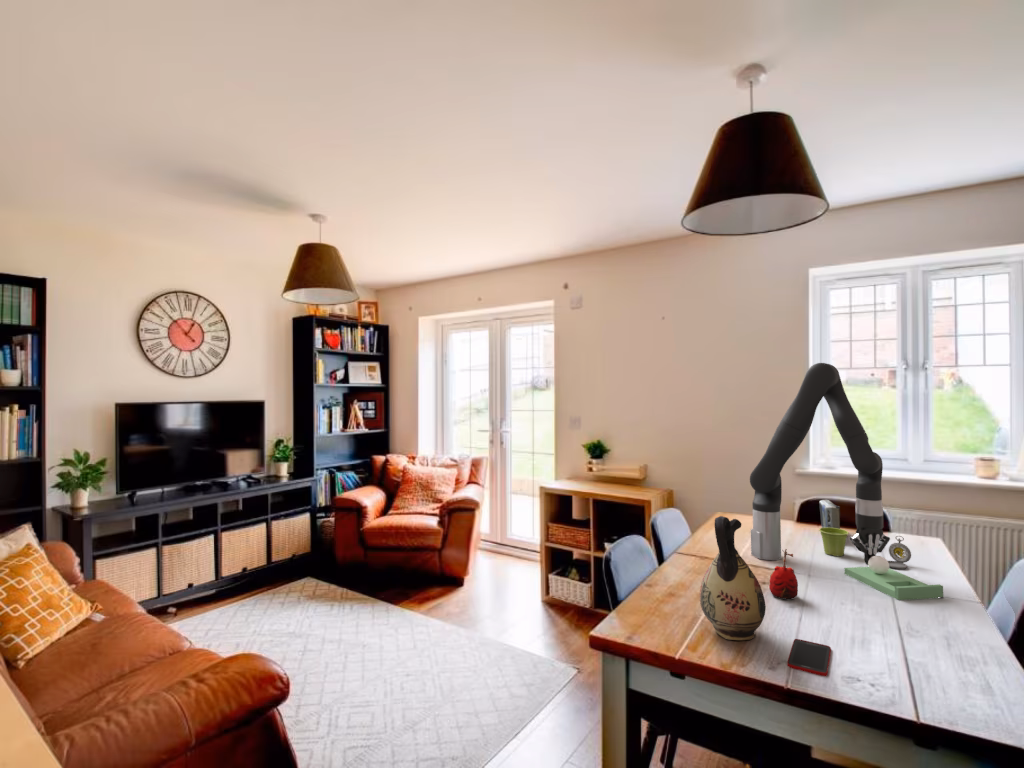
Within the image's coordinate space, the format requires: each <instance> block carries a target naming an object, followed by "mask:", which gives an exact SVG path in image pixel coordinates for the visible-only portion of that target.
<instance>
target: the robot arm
mask: <svg viewBox="0 0 1024 768" xmlns="http://www.w3.org/2000/svg"><path fill="white" fill-rule="evenodd" d="M843 385H844V384H843V383H842V379H841V377H840V372H839V370H838V369H837V368H836V367H835V366H834V365H833V364H830V363H827V362H817V363H815V364H812V365H811V366H810V367H809V368H808V369H807V371H806V372H805V375H804V378H803V380H802V383H801V385H800V387H799V389H798V393H797V395H795V398H794V399H793V401H792V403H790V406H789V407H788V409H787V410H786V412H785V413H784V415H783V417H782V418H781V420H780V422H779V424H778V425H777V427H776V429H775V431H774V433H773V436H772V438H771V440H770V442H769V444H768V446H767V449H766V451H765V453H764V455H763V456H762V458H761V459H760V461H759V462H758V463H757V465H756V466H755V467H754V469H753V470H752V471H751V473H750V476H749V483H750V486H751V488H752V489H753V490H754V495H753V500H752V528H751V529H750V552H751V555H752V556H754V557H755V558H757V559H759V560H767V561H779V560H781V559H782V536H781V535H782V533H781V532H782V531H781V529H782V526H781V525H782V523H781V504H782V488H783V487H782V476H781V473H782V470H783V468H784V467H785V464H786V463H787V462H788V460H789V459H790V458H791V457H792V456H793V454H794V453H795V452H796V451H797V450H798V448H799V447H800V445H802V443H803V441H804V440H805V438H806V437H807V434H808V432H809V431H810V430H811V426H812V424H813V421H814V419H815V415H816V411H817V408H818V406H819V404H820V402H821V400H822V399H823V398H824V399H825V401H826V403H827V405H828V407H829V410H830V412H831V415H832V419H833V422H834V424H835V427H836V429H837V431H838V433H839V435H840V437H841V439H842V441H843V443H844V444H845V446H846V449H847V452H848V454H849V458H850V460H851V462H852V465H853V467H854V468H855V469H856V471H857V482H856V486H855V503H854V505H855V509H854V510H855V525H856V531H855V534H854V535H853V536H852V535H850V536H849V540H850V542H851V543H852V545H854V546H855V548H856V549H857V550H858V551H860V552H861V553H863V555H864V556H863V557H864V558H863V559H864V560H863V561H864V563H865V565H867V566H868V561H869V559H870V558H871V557H873V556H877V554H878V553H882V552H883V550H885V547H886V546H887V545H888V543H889V542H890V540H891V538H890V537H889V536H887V535H885V534H884V530H883V528H884V506H883V494H882V492H883V491H882V479H883V464H884V463H883V460H882V459H883V458H882V457H881V456H880V455H879V454H878V453H877V452H875V451H873V449H872V447H871V445H870V443H869V437H868V434H867V432H866V430H865V428H864V426H863V424H862V423H861V421H860V419H859V418H858V415H857V414H856V412H855V410H854V408H853V407H852V405H851V403H850V401H849V399H848V396H847V394H846V391H845V390H844V386H843Z"/></svg>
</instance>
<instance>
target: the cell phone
mask: <svg viewBox="0 0 1024 768" xmlns="http://www.w3.org/2000/svg"><path fill="white" fill-rule="evenodd" d="M831 651H832V648H831V647H830V646H829V645H826V644H823V643H819V642H818V643H817V642H813V641H809V640H804V639H799V638H795V639H794V640H793V642H792V646H791V649H790V652H789V656H788V659H787V662H786V663H787V667H788V668H790V669H794V670H797V671H802V672H805V673H809V674H813V675H816V676H821V677H827V676H828V673H829V667H830V661H831Z"/></svg>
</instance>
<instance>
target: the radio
mask: <svg viewBox="0 0 1024 768" xmlns="http://www.w3.org/2000/svg"><path fill="white" fill-rule="evenodd" d="M818 504H819V512H820V513H819V514H820V525H821V528H838V529H841V519H840V518H841V506H840V505H836V504H834V503H833V502H832V501H831V500H829V499H824V498H823V499H821V500H819V502H818Z"/></svg>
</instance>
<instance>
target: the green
mask: <svg viewBox="0 0 1024 768" xmlns="http://www.w3.org/2000/svg"><path fill="white" fill-rule="evenodd" d="M843 574H844V575H845V576H849V577H850V578H852V579H854V580H857V581H859V582H861V583H863V584H864V585H866V586H869V587H871V588H873V589H875V590H877V591H879V592H881V593H883V594H885V595H887V596H889V597H891V598H893V599H896V600H898V601H901V600H902V601H906V600H907V601H909V600H910V601H911V600H926V599H927V600H930V599H929V598H932V599H939V598H938V597H943V598H944V585H942V584H928V583H925V582H923V581H920V580H919V579H916V578H914V577H911V576H908V575H906V574H904V573H901V572H899V571H896V570H894V569H893V568H891V567H889V570H888V571H887V572H886V573H884V574H877V573H875V572H873V571H872V570H871V569H870V568H869V566H856V567H854V566H852V567H844V573H843Z"/></svg>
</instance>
